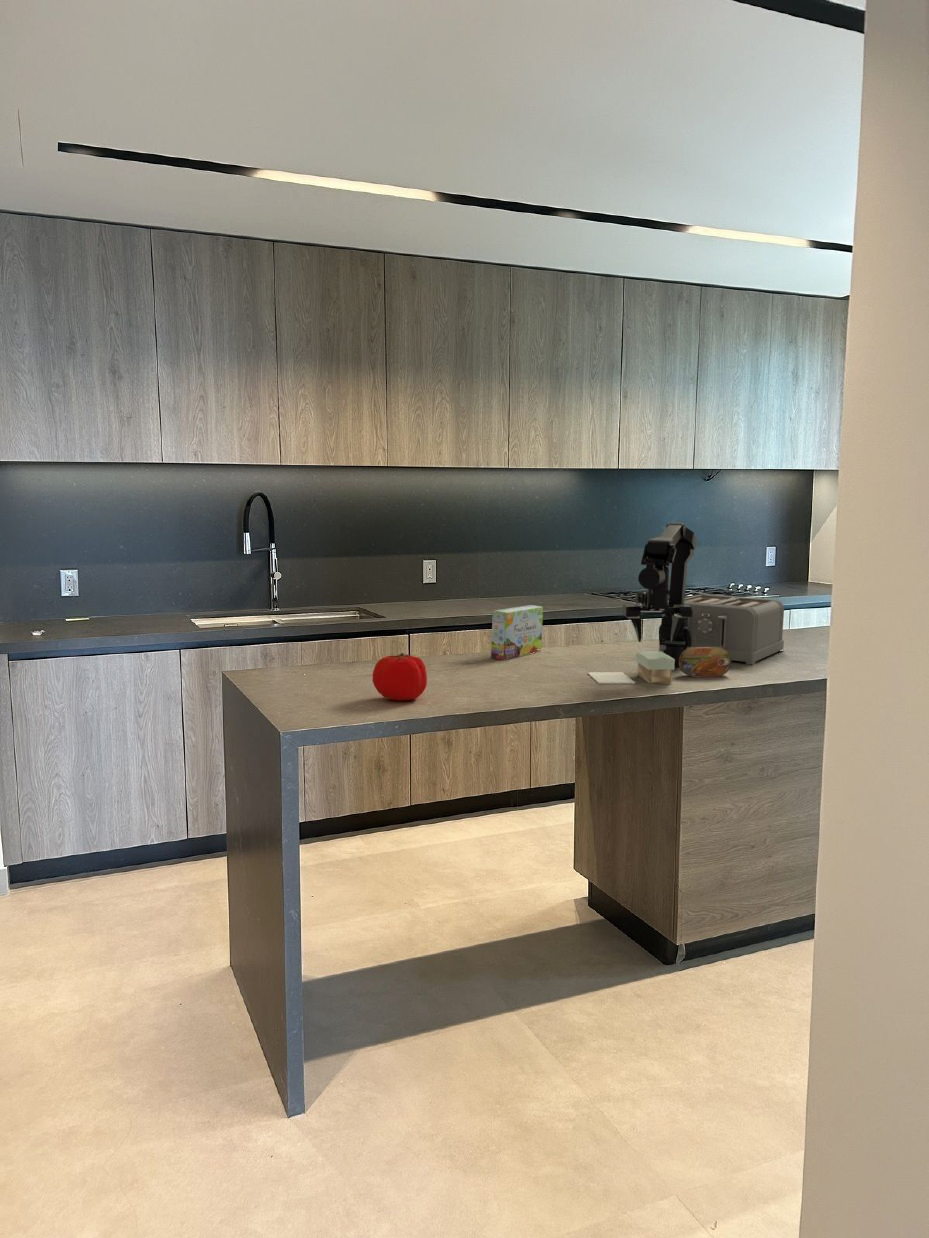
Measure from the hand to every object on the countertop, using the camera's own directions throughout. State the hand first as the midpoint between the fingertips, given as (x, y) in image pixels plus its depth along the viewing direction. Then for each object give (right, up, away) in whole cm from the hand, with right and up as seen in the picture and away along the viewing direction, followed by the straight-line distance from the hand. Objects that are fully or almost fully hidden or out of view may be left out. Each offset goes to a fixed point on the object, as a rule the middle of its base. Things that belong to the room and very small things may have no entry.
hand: (655, 641), depth 256 cm
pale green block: (0, -8, +1) cm, 8 cm away
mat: (-12, -10, +1) cm, 16 cm away
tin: (+15, -10, +8) cm, 20 cm away
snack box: (-36, -5, +36) cm, 52 cm away
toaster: (+30, -5, +45) cm, 55 cm away
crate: (0, -11, +1) cm, 11 cm away
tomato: (-69, -14, -27) cm, 76 cm away
